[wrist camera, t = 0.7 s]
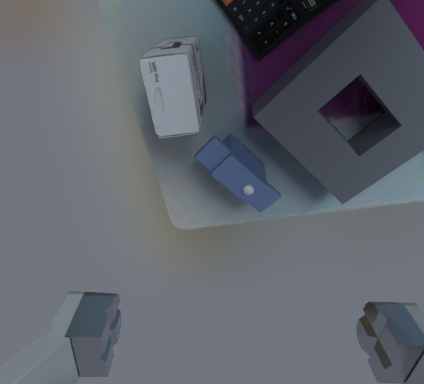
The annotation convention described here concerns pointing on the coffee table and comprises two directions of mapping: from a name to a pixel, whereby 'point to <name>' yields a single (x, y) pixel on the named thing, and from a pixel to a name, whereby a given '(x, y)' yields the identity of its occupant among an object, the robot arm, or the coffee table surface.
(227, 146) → the block
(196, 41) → the ink box
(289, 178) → the coffee table surface
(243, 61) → the coffee table surface
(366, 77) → the plate
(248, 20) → the calculator
